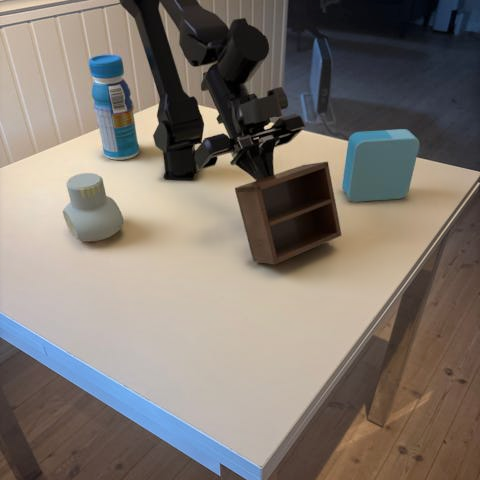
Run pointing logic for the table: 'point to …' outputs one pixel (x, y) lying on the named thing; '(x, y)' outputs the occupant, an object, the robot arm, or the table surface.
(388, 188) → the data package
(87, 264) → the table surface
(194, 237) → the table surface
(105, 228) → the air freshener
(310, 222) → the shelf
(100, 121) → the beverage bottle
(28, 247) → the table surface
